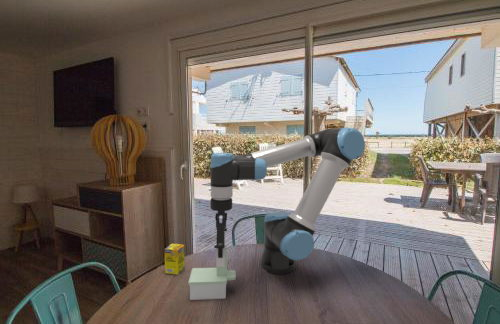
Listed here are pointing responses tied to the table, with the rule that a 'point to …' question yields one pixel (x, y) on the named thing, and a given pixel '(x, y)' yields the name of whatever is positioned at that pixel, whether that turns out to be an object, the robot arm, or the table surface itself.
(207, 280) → the lid
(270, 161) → the robot arm
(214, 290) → the tub
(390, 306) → the table surface
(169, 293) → the table surface
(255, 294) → the table surface
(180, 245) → the supplement box
